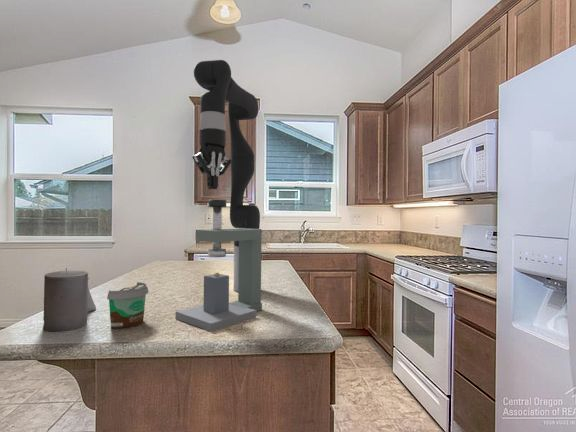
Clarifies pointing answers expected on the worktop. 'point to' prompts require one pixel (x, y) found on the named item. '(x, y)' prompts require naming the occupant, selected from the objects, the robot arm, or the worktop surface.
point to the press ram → (217, 227)
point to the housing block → (216, 293)
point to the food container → (127, 306)
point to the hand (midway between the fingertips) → (212, 189)
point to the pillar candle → (65, 300)
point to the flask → (90, 302)
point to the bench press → (247, 281)
